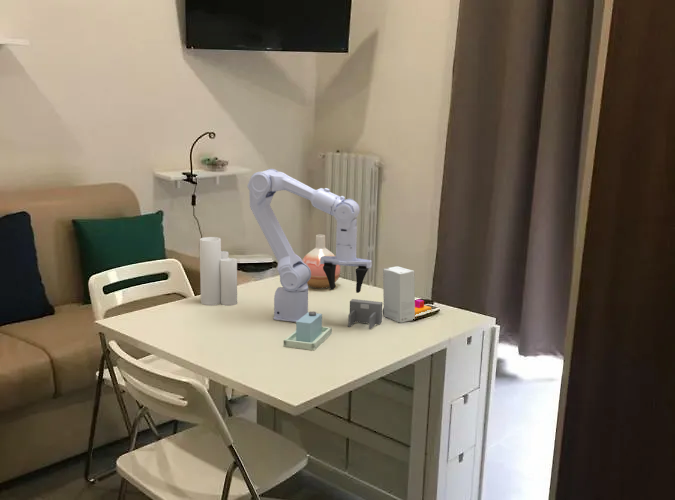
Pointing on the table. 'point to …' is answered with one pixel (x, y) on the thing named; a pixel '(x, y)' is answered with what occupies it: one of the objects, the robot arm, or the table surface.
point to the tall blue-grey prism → (309, 327)
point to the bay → (365, 312)
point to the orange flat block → (421, 306)
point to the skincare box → (399, 293)
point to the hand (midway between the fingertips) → (345, 290)
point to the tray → (292, 342)
